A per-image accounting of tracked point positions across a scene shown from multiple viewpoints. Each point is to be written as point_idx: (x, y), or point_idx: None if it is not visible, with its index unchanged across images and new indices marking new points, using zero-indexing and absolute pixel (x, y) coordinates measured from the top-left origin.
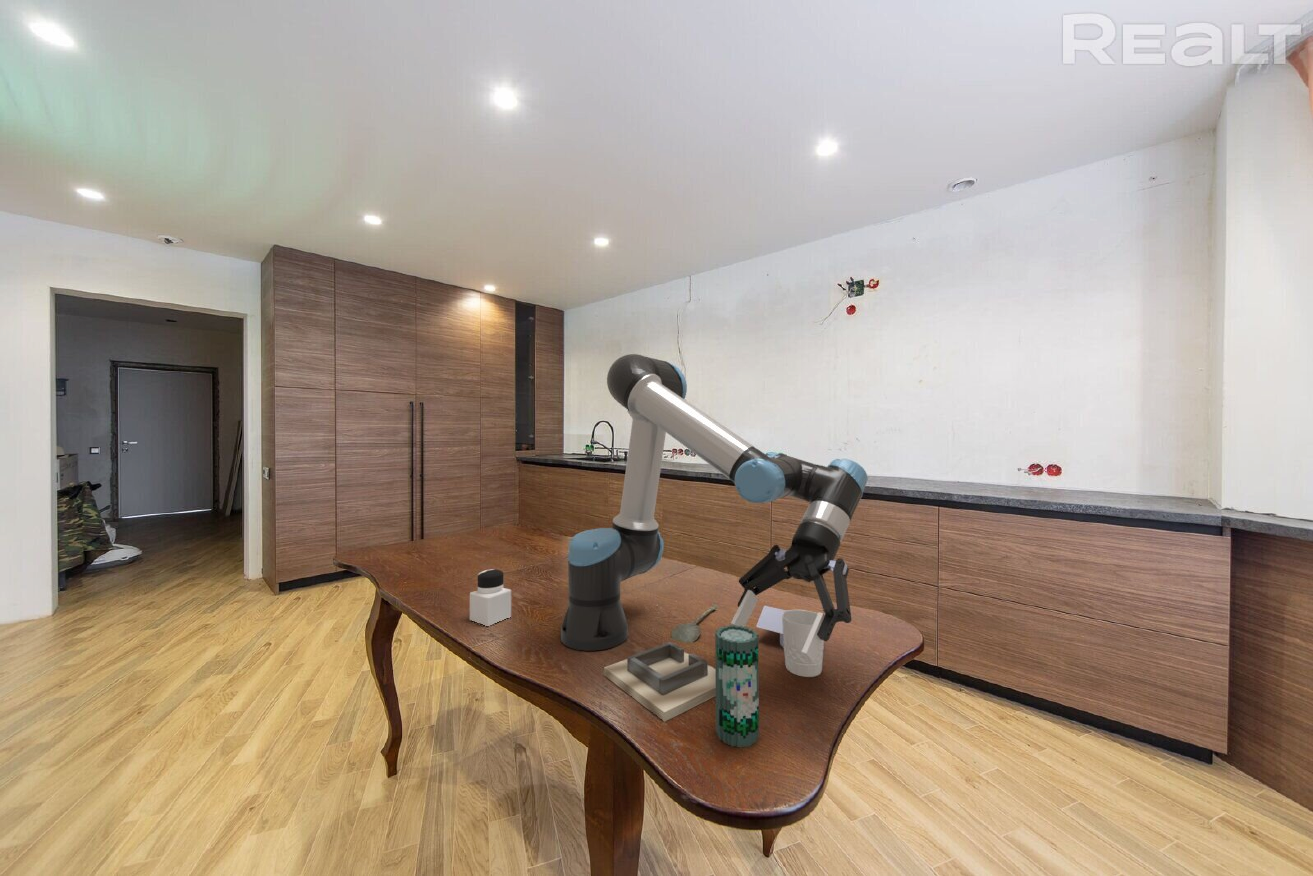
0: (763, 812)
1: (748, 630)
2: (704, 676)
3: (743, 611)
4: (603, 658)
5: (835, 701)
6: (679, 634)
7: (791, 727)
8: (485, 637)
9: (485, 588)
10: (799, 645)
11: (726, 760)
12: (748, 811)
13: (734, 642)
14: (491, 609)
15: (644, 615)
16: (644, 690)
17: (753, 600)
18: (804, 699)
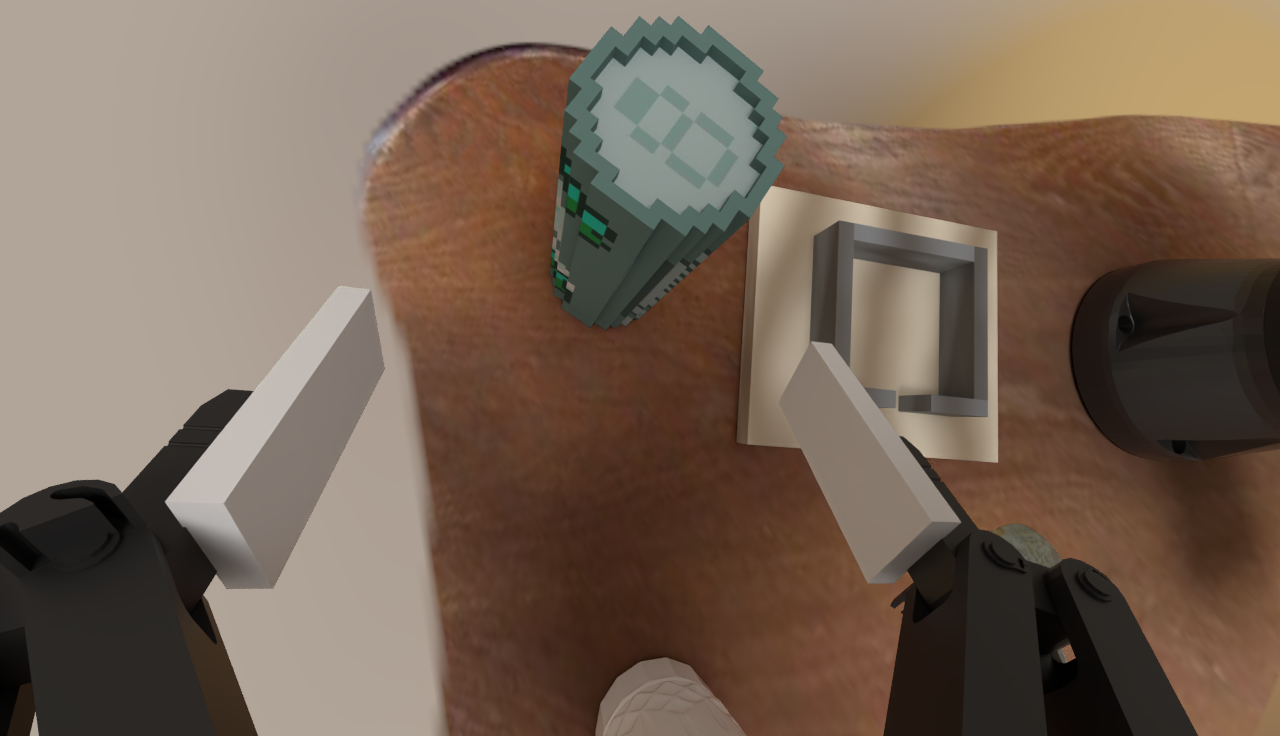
0: (413, 101)
1: (665, 206)
2: None
3: (841, 417)
4: (1040, 296)
5: (483, 620)
6: (1026, 545)
7: (517, 399)
8: (1258, 164)
9: None
10: (661, 726)
11: None
12: (439, 85)
13: (628, 31)
14: None
15: (1178, 574)
16: (858, 221)
17: (871, 526)
18: (559, 551)
